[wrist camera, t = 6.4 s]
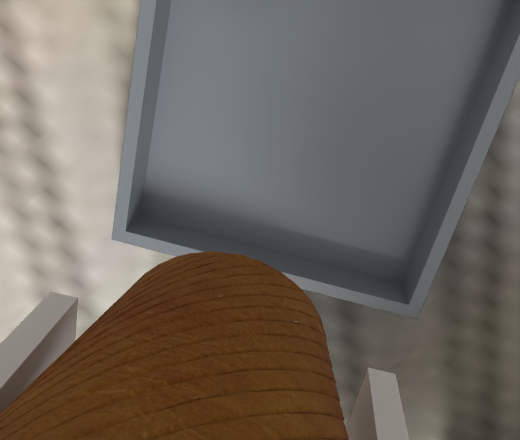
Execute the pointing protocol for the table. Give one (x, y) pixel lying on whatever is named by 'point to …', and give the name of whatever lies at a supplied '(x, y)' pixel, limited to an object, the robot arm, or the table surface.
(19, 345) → the robot arm
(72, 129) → the table surface
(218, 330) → the disposable coffee cup
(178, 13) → the tray
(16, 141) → the table surface
